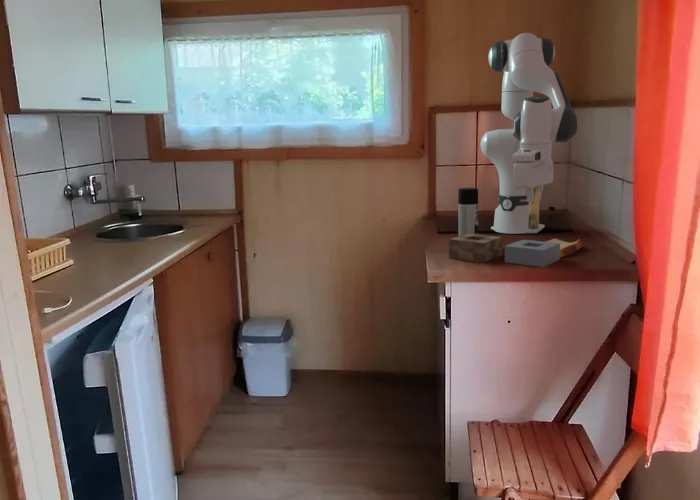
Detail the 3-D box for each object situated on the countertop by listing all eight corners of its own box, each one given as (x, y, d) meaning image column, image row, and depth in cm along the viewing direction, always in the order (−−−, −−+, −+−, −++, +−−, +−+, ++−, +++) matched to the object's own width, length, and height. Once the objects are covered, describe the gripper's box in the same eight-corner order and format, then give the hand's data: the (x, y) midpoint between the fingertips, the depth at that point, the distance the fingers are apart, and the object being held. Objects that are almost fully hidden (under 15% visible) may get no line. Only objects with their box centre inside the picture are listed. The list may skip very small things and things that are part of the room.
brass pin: (530, 227, 174) (531, 187, 172) (540, 227, 173) (541, 187, 170) (526, 228, 172) (527, 188, 170) (536, 229, 170) (537, 188, 168)
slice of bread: (546, 259, 177) (547, 248, 176) (522, 248, 194) (522, 237, 194) (602, 256, 179) (602, 244, 178) (573, 245, 196) (573, 234, 196)
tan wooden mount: (468, 251, 191) (468, 233, 190) (501, 255, 183) (502, 236, 182) (448, 258, 182) (448, 239, 181) (483, 262, 174) (483, 243, 173)
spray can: (478, 248, 195) (478, 189, 191) (457, 248, 196) (458, 189, 192) (478, 244, 201) (478, 187, 197) (458, 244, 203) (458, 187, 198)
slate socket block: (522, 254, 183) (522, 239, 182) (559, 259, 175) (560, 243, 174) (504, 262, 174) (505, 245, 173) (543, 267, 166) (543, 250, 165)
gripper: (539, 152, 178) (538, 197, 180) (509, 155, 163) (508, 204, 165) (559, 152, 174) (558, 198, 176) (531, 155, 159) (529, 205, 161)
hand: (534, 201), depth 171 cm, fingers closed on brass pin, 3 cm apart
